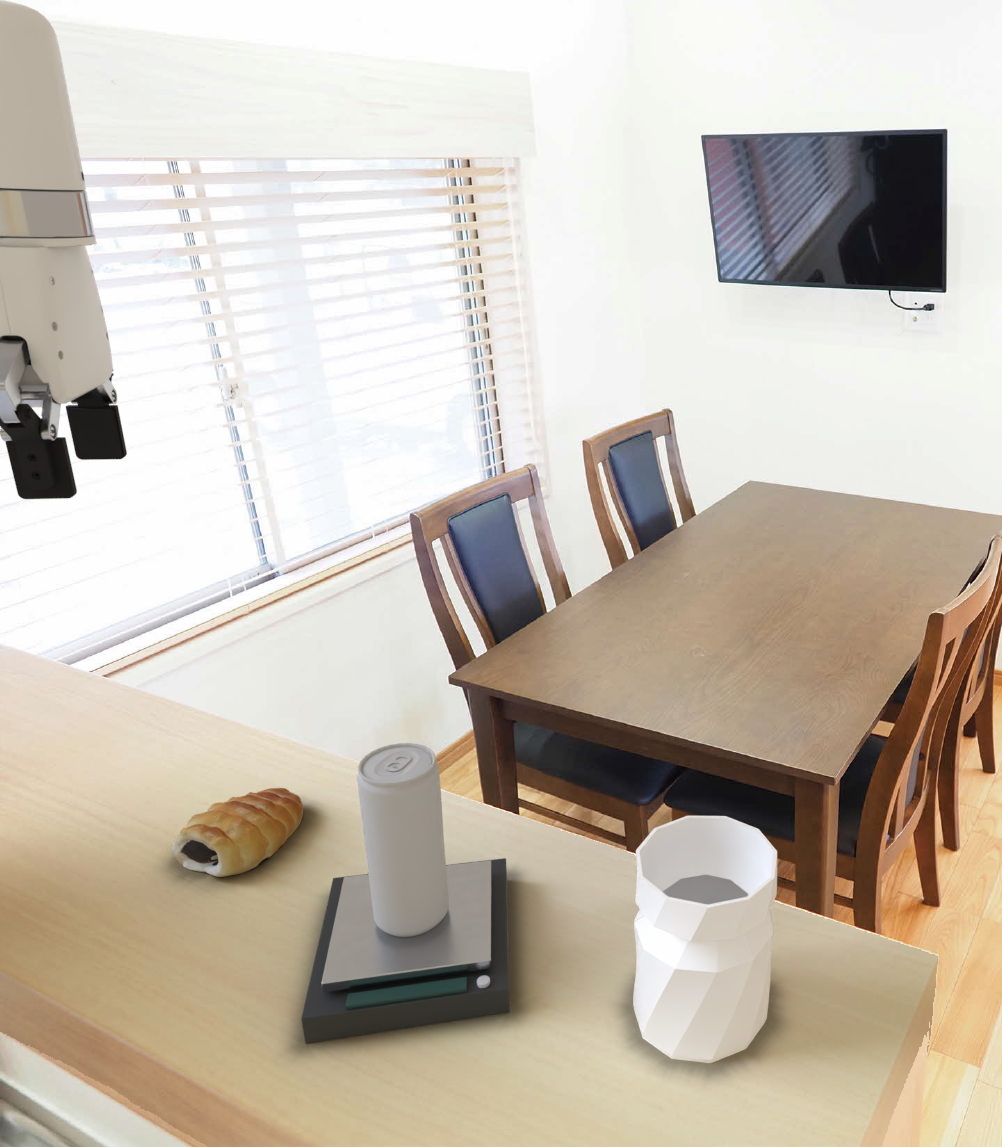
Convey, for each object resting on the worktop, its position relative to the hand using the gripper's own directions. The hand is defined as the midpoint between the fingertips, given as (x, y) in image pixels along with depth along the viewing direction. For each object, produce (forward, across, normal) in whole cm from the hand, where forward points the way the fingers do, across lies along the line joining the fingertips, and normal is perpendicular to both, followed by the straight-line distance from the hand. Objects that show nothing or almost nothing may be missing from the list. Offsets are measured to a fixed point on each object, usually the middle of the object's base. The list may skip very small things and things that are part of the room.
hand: (77, 476), depth 68 cm
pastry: (+28, +6, +8) cm, 30 cm away
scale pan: (+26, +20, +22) cm, 40 cm away
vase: (+28, +29, +40) cm, 57 cm away
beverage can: (+25, +20, +22) cm, 39 cm away
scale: (+28, +20, +22) cm, 41 cm away
